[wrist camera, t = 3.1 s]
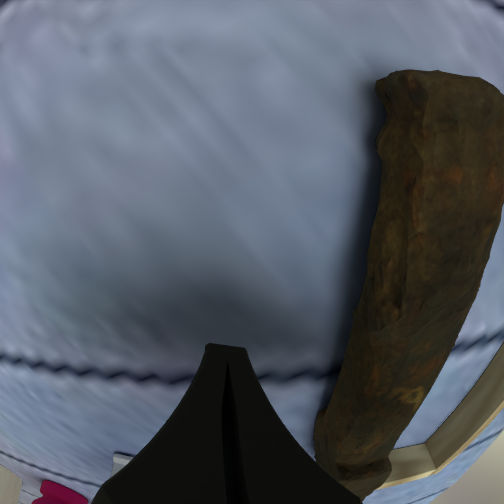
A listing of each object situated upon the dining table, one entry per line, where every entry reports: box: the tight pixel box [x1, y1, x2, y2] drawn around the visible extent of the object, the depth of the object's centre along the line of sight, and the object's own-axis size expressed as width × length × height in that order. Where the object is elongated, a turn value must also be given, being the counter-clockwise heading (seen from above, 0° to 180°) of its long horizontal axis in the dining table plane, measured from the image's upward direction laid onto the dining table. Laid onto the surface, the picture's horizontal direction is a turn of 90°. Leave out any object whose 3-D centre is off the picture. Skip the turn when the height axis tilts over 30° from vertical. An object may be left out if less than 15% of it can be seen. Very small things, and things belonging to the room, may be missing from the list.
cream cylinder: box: [0, 465, 22, 504], centre depth 20 cm, size 7×7×7 cm
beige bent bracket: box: [376, 343, 504, 490], centre depth 13 cm, size 9×24×3 cm, turn 168°
